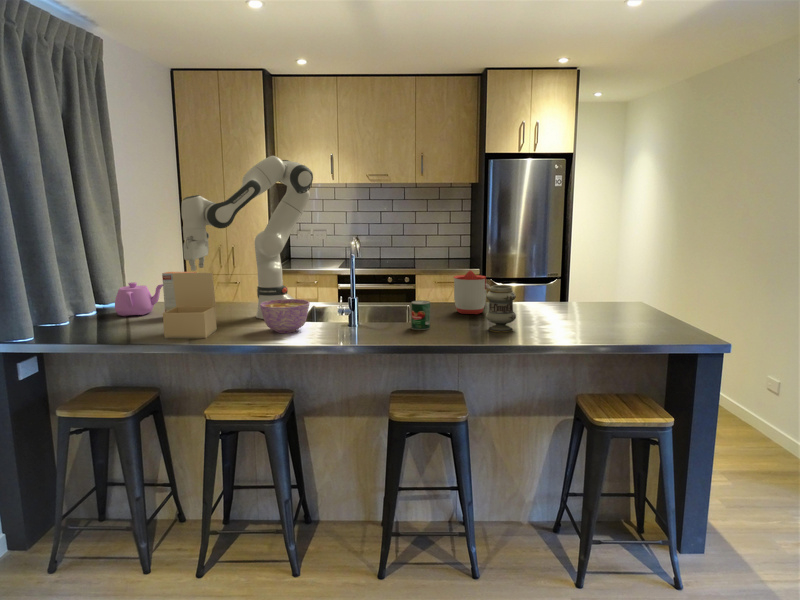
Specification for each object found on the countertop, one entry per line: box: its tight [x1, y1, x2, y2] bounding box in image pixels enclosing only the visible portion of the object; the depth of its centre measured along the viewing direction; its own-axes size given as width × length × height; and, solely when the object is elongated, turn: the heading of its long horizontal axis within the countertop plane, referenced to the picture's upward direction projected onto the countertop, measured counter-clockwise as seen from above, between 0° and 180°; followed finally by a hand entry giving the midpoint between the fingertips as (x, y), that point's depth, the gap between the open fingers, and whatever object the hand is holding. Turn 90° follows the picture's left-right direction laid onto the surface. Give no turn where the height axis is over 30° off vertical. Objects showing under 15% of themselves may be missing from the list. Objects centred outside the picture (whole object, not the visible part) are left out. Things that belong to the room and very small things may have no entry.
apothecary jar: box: [485, 284, 517, 333], centre depth 237 cm, size 12×12×18 cm
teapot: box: [114, 282, 163, 317], centre depth 273 cm, size 23×21×15 cm
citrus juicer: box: [453, 270, 491, 315], centre depth 273 cm, size 16×17×20 cm
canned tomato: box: [410, 299, 431, 331], centre depth 241 cm, size 8×8×11 cm
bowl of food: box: [260, 298, 310, 334], centre depth 237 cm, size 20×20×12 cm
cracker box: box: [161, 271, 198, 313], centre depth 266 cm, size 14×6×21 cm, turn 84°
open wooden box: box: [162, 306, 218, 339], centre depth 232 cm, size 16×14×10 cm
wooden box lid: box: [172, 272, 217, 307], centre depth 239 cm, size 16×14×5 cm
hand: (197, 269), depth 241 cm, fingers open, 8 cm apart
